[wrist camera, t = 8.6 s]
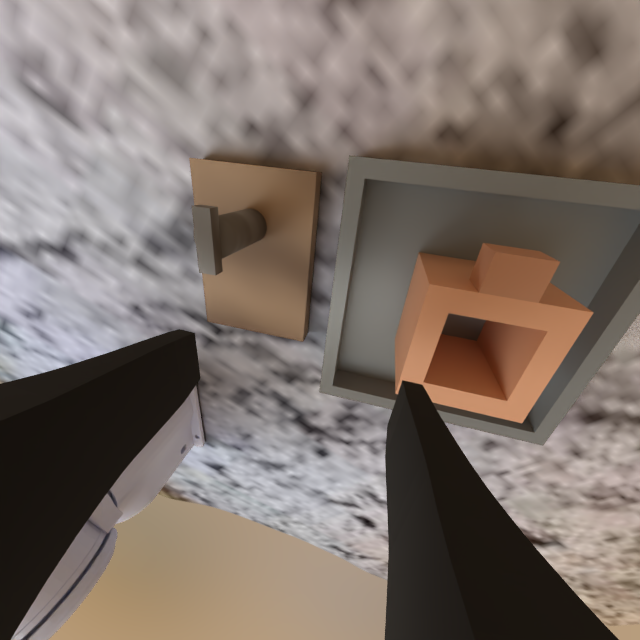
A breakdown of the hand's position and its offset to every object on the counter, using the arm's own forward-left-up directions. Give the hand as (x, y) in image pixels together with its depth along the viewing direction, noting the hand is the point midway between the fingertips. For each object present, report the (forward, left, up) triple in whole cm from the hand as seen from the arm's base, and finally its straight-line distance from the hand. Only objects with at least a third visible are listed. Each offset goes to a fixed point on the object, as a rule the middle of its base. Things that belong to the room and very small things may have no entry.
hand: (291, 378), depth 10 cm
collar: (0, -7, -8) cm, 11 cm away
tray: (0, -7, -9) cm, 12 cm away
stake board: (+1, +5, -9) cm, 11 cm away
